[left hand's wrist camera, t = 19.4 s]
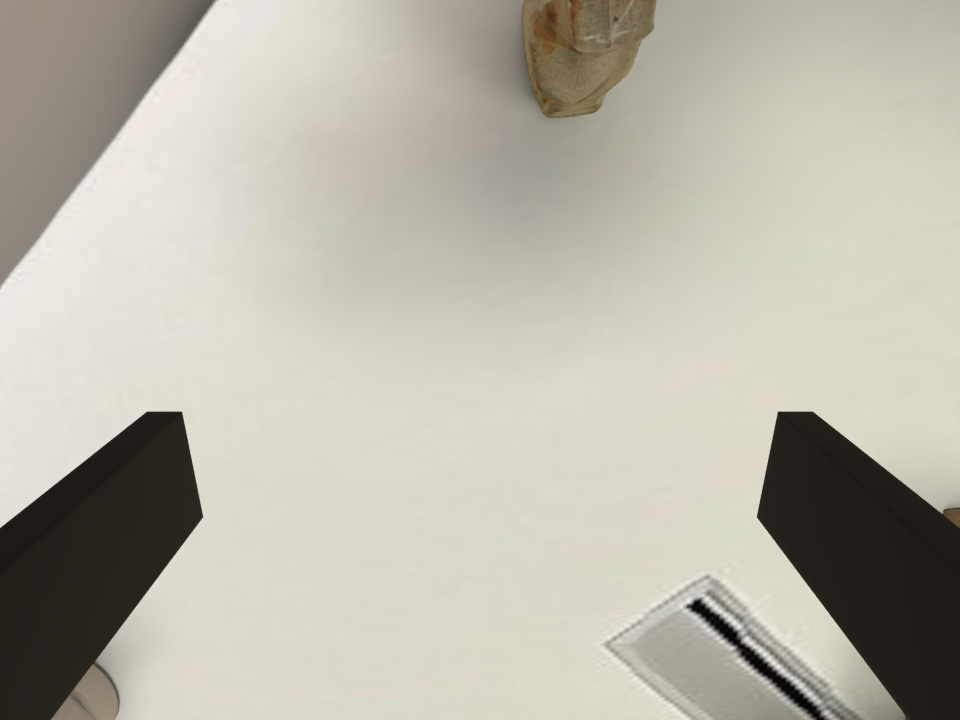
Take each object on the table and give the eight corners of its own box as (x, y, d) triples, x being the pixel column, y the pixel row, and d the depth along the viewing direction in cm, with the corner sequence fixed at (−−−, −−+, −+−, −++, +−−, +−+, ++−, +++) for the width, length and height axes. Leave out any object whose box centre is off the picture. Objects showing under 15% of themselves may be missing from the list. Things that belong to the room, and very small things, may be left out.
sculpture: (607, -16, 34) (696, -130, 20) (607, 115, 37) (687, 94, 23) (510, -6, 34) (531, -113, 20) (517, 122, 37) (540, 107, 23)
